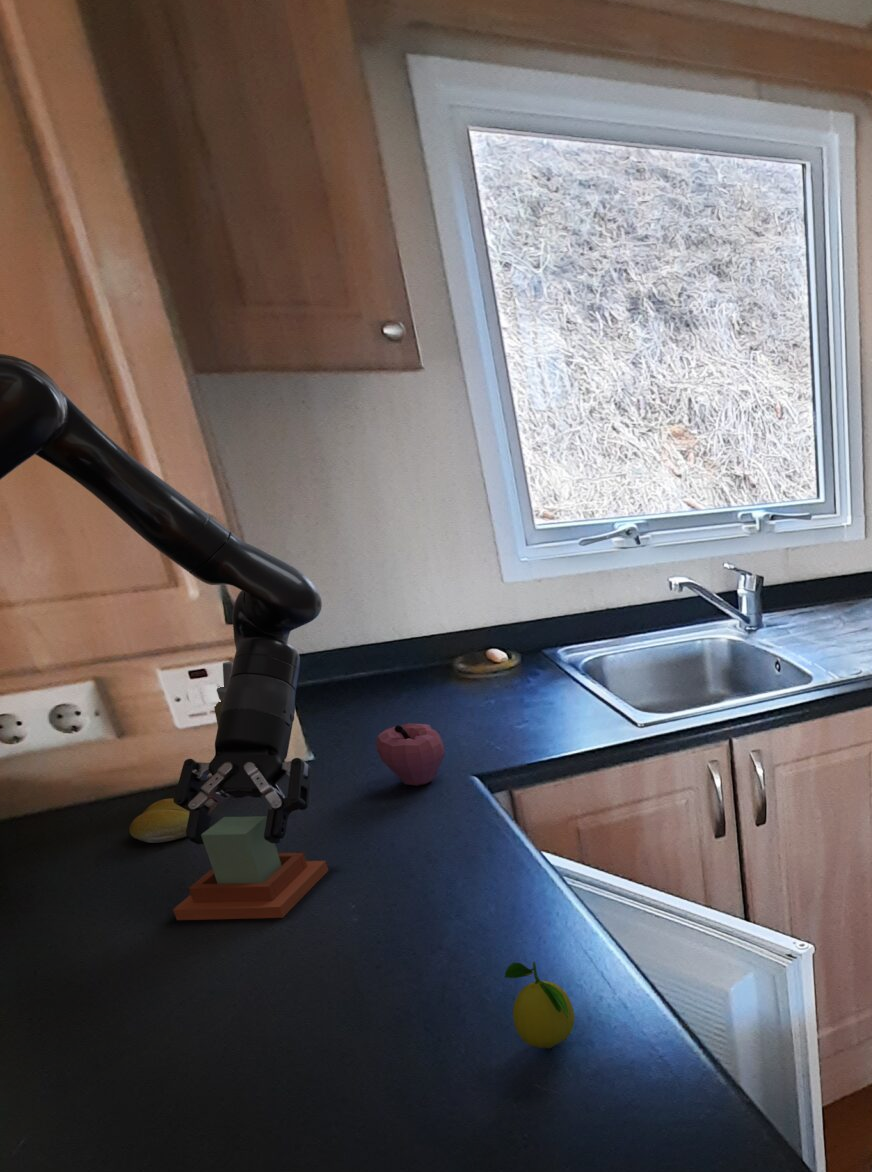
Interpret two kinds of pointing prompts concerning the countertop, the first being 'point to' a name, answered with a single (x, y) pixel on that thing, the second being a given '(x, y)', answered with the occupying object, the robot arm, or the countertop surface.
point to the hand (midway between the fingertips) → (234, 841)
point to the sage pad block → (240, 850)
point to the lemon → (541, 1010)
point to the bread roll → (160, 822)
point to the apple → (411, 752)
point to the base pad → (253, 892)
